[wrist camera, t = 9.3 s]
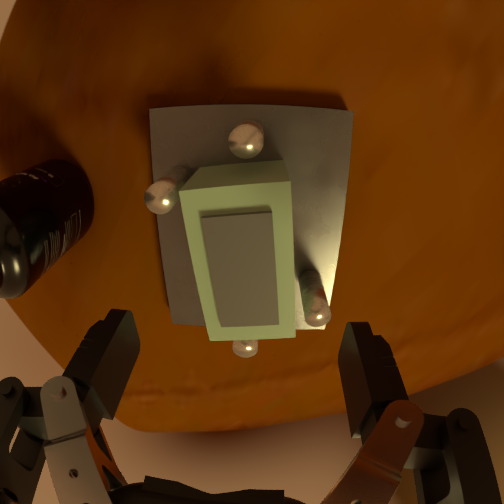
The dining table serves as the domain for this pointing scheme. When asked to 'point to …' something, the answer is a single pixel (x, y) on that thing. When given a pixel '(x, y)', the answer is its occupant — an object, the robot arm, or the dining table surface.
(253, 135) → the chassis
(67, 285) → the dining table surface
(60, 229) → the supplement bottle
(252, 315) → the block
